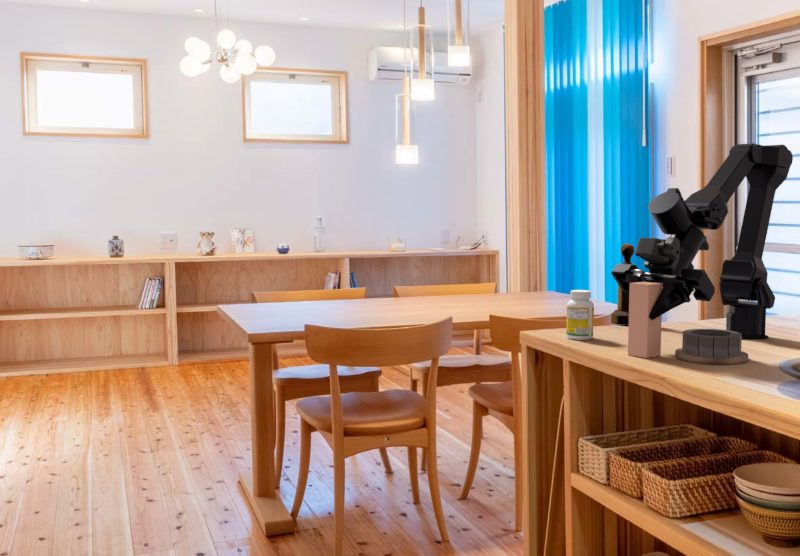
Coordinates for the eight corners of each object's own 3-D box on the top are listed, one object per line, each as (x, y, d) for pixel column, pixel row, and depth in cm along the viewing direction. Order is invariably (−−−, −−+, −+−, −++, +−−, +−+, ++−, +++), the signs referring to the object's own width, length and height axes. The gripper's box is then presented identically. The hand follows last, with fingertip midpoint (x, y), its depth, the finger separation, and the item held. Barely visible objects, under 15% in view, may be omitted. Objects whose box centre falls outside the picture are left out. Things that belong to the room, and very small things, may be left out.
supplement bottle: (580, 341, 164) (581, 292, 164) (560, 337, 169) (561, 290, 168) (599, 338, 168) (599, 291, 167) (578, 335, 172) (579, 288, 171)
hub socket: (733, 352, 152) (734, 327, 152) (759, 365, 140) (760, 338, 140) (666, 351, 152) (667, 327, 152) (687, 364, 140) (688, 338, 140)
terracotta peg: (641, 352, 152) (643, 281, 151) (660, 355, 149) (662, 283, 147) (627, 355, 149) (629, 283, 148) (646, 358, 146) (648, 284, 145)
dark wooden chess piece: (621, 320, 192) (622, 242, 191) (646, 323, 188) (648, 243, 186) (605, 323, 188) (607, 243, 186) (631, 326, 183) (633, 244, 181)
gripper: (618, 220, 157) (578, 282, 151) (707, 222, 142) (666, 291, 136) (643, 260, 162) (605, 322, 156) (731, 266, 147) (693, 334, 142)
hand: (640, 316), depth 147 cm, fingers closed on terracotta peg, 4 cm apart
